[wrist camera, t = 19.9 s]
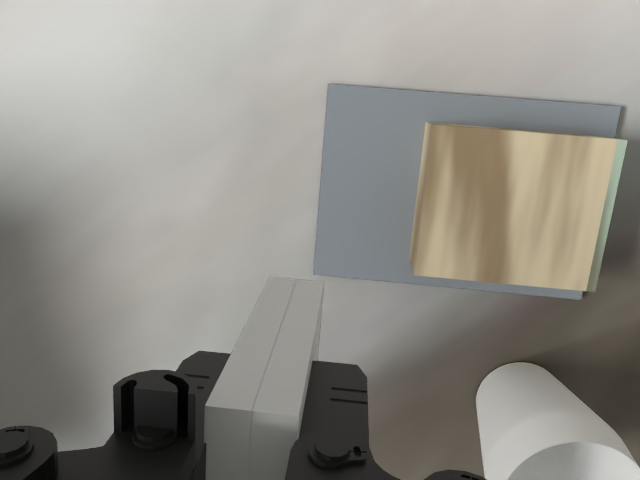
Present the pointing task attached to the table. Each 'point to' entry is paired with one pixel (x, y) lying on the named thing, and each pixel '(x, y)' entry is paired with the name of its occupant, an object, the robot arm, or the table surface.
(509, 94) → the table surface
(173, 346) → the table surface
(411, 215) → the mat
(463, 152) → the slab
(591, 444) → the white tapered cylinder
